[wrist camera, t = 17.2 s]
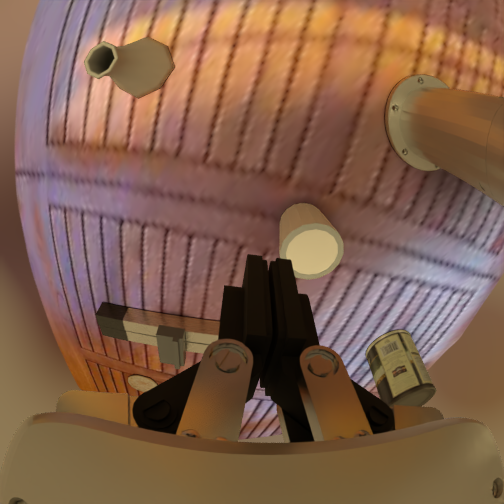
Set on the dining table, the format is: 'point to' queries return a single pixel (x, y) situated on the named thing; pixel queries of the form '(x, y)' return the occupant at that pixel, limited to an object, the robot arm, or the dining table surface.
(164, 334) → the sleeve
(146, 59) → the flask
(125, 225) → the dining table surface
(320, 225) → the beige tapered cylinder
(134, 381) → the flatbread
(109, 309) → the arm
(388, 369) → the coffee can
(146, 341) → the tongs base
